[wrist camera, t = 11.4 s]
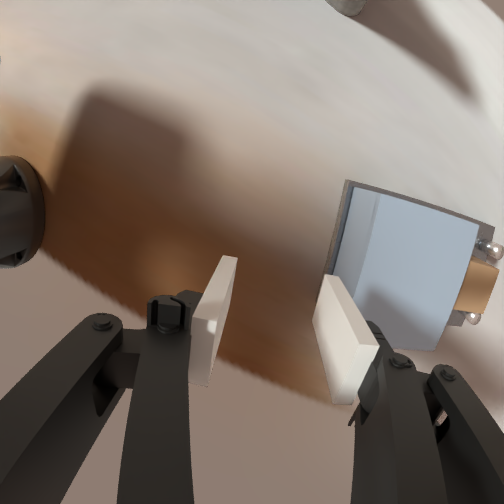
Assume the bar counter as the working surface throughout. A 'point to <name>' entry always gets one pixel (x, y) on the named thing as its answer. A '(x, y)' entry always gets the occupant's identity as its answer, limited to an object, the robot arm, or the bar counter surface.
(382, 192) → the housing base
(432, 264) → the housing cover
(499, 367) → the bar counter surface
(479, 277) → the light brown cube
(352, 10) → the hip flask
